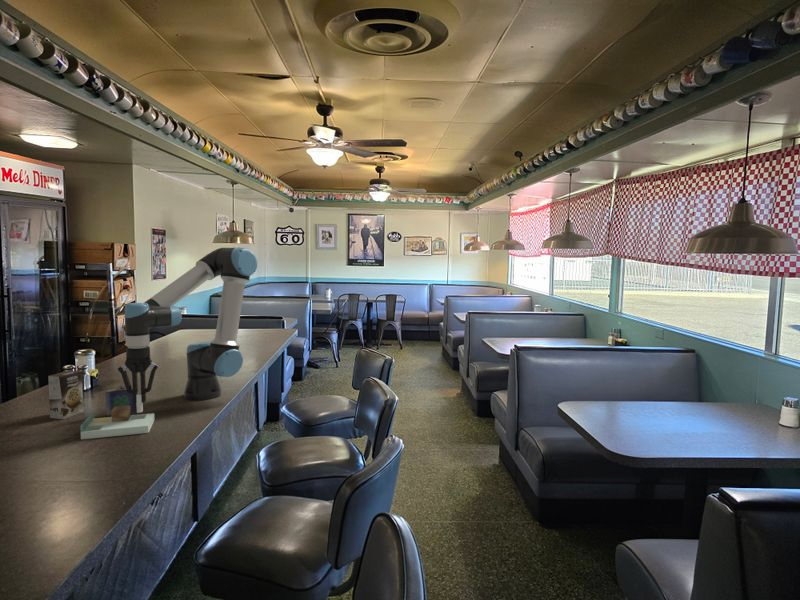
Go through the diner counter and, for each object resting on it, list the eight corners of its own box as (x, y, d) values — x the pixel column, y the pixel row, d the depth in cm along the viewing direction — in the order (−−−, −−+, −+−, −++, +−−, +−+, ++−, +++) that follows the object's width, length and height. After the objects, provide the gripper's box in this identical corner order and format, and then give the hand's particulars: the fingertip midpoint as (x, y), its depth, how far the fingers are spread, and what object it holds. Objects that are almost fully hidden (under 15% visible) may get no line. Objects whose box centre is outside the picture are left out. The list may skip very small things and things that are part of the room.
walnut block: (130, 416, 178) (130, 405, 178) (127, 420, 174) (127, 409, 173) (115, 417, 177) (114, 406, 176) (111, 422, 172) (111, 410, 172)
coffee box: (64, 419, 182) (61, 376, 181) (49, 418, 183) (47, 375, 182) (84, 412, 191) (82, 370, 189) (70, 410, 192) (68, 370, 191)
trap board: (154, 419, 182) (154, 408, 182) (148, 432, 169) (147, 420, 169) (92, 425, 176) (91, 413, 175) (80, 439, 163) (80, 426, 162)
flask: (106, 416, 186) (105, 386, 185) (106, 414, 188) (105, 384, 187) (136, 412, 191) (135, 383, 190) (136, 410, 193) (135, 381, 192)
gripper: (159, 343, 181) (161, 407, 183) (119, 345, 177) (121, 410, 179) (156, 347, 174) (158, 413, 176) (114, 349, 170) (117, 416, 172)
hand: (139, 411), depth 177 cm, fingers closed
